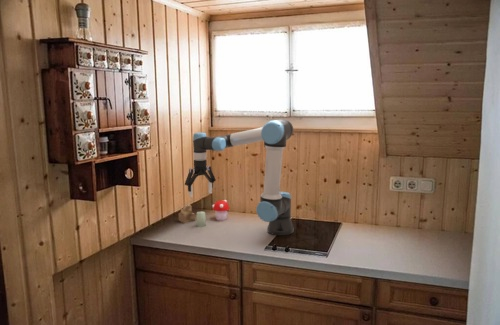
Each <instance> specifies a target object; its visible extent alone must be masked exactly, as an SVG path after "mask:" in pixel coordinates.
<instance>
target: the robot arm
mask: <svg viewBox="0 0 500 325" xmlns="http://www.w3.org/2000/svg"><path fill="white" fill-rule="evenodd" d="M293 133H294V126H293V124H292V123H291V122H290V120H287V119H286V118H285V119H284V118H283V119H281V118H280V119H273V120H270V121H267V122H266V123H265V124H264V125H263V126H261V127H258V128H257V127H256V128H253V129H248V130H244V131H238V132H234V133H230V134H224V135H220V136H207V133H206V132H194V133H193V136H192V138H193V140H192V142H193V143H192V145H193V167H194V168H189V170H188V174H187V176H186V180H185V182H184V186H187V192H188V196H189V198H194V194H193V191H194V190H193V186H194V185H193V184H194V182H195V181H196V179H197V178H198V177H199V176H204V177H205V178H206V179H207V181H208V182H207V187H208V190H207V191H208V194H213V188H214V183H215V182H216V180H217V179H216V178H215V175H214V173H213V171H212V166H209V165H207V163H208V161H207V155H208V154H207V151H213V152H214V151H216V152H222V151H224V150H225V149H228V148H233V147H236V146H237V147H238V146H242V145H249V144H253V143H258V142H259V143H260V142H263V147H265V149H266V151H265V152H266V153H265V165H264V166H265V169H264V182H263V192H261V194H260V200H259V203H258V204H257V205H256V208H255V209H256V210H255V211H256V215H257V216H258V218H259V219H260V220H262V221H263V222H267V223H268V224H267V227H266V230H267V233H268V234H271V235H273V236H288V235H292V234H293V233H294V230H295V229H294V228H295V227H294V224H293V221H292V218H291V217H292V195H291V193H289V192H288V191H287V192H286V191H281V179H282V178H281V177H282V166H283V165H282V164H283V152H284V149H286V147H287V140H289V139H290V138H291V137H292V135H294V134H293Z"/></svg>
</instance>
